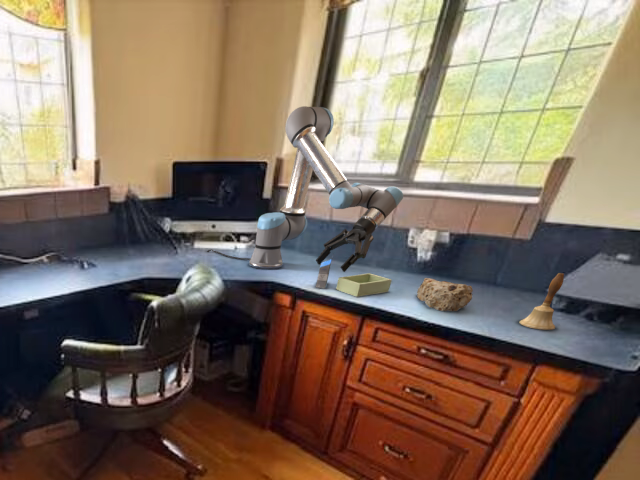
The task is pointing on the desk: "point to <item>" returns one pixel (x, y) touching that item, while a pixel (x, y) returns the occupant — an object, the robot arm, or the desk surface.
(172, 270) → the desk surface
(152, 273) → the desk surface
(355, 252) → the robot arm
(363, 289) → the dock
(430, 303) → the rock
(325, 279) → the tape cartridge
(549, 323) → the hand bell
